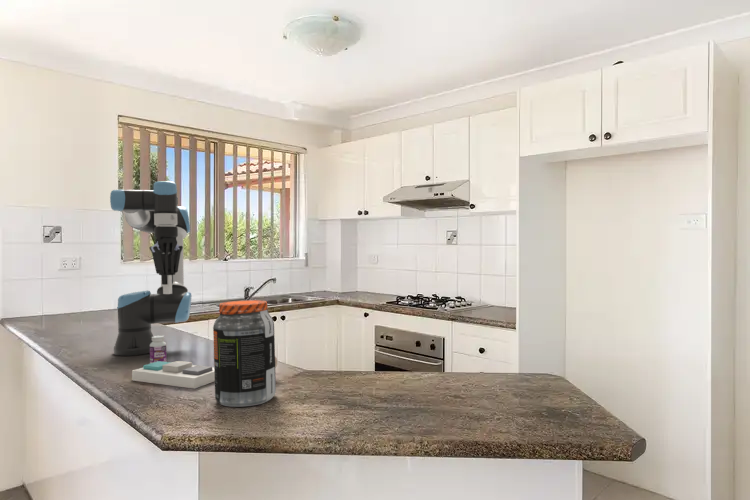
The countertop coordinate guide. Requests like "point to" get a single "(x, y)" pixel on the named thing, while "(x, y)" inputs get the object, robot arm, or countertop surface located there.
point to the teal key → (155, 366)
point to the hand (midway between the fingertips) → (167, 293)
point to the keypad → (173, 378)
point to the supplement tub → (244, 354)
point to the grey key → (176, 366)
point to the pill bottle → (158, 349)
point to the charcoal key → (197, 370)
